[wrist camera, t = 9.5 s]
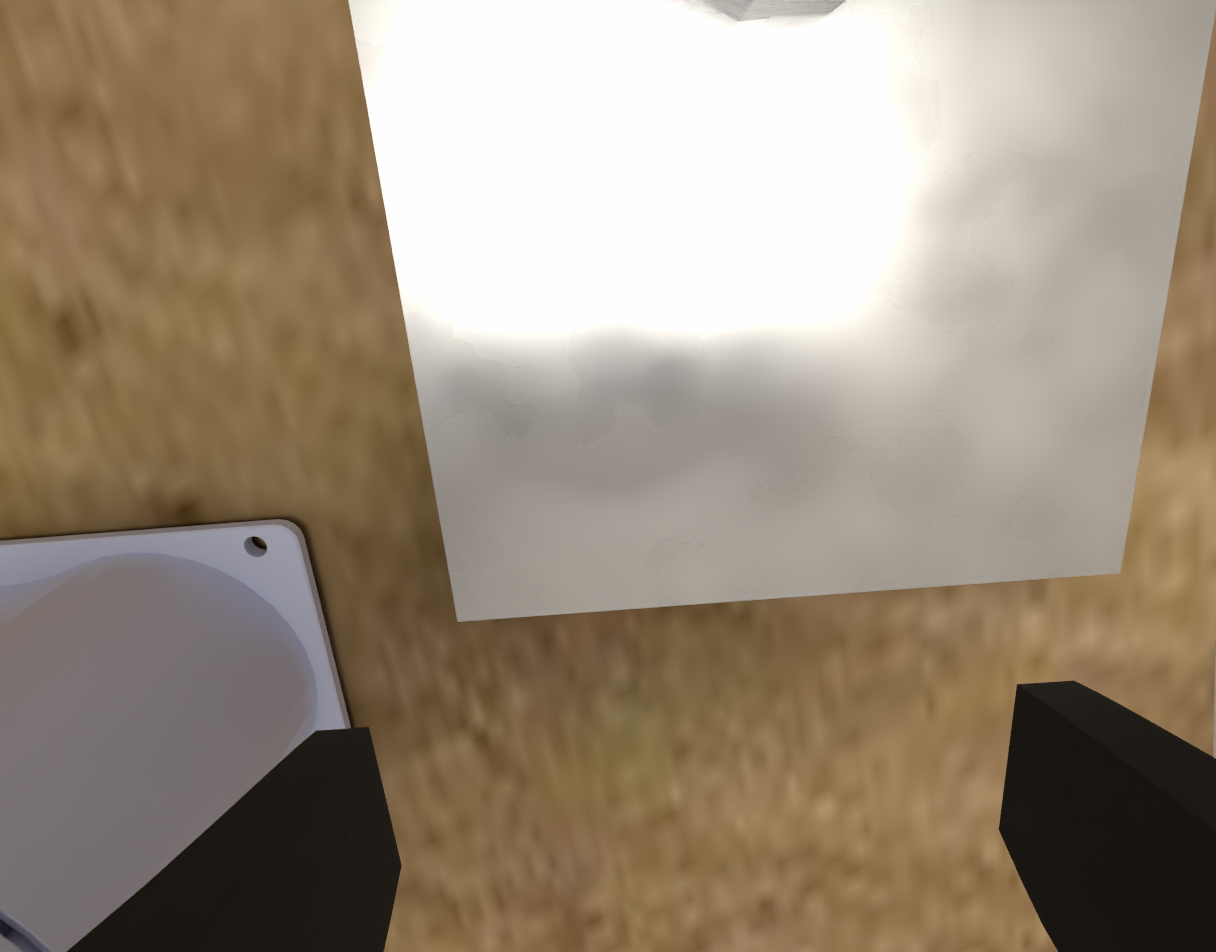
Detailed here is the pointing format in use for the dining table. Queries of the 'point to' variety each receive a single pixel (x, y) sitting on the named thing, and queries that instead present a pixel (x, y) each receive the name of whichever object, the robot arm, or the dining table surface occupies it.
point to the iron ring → (772, 8)
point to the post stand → (779, 286)
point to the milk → (1215, 741)
